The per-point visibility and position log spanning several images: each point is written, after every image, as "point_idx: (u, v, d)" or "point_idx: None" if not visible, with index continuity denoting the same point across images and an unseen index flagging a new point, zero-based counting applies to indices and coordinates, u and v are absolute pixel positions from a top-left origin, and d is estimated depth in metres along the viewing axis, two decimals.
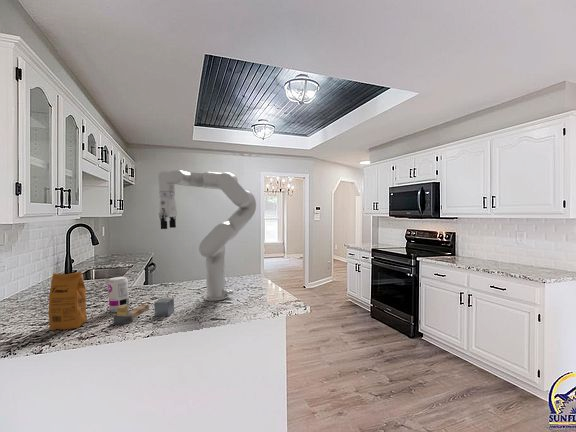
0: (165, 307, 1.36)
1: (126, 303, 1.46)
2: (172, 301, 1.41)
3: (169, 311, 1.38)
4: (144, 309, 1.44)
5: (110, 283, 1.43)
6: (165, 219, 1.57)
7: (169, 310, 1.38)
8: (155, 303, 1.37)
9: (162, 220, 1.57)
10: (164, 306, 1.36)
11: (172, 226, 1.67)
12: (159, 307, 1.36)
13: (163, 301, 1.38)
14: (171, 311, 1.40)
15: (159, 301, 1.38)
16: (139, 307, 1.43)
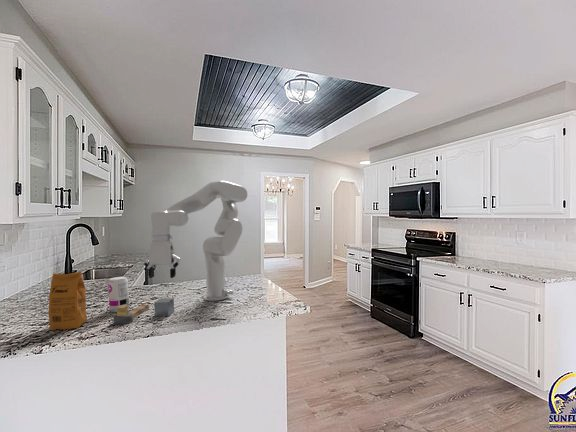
0: (165, 307, 1.36)
1: (126, 303, 1.46)
2: (172, 301, 1.41)
3: (169, 311, 1.38)
4: (144, 309, 1.44)
5: (110, 283, 1.43)
6: None
7: (169, 310, 1.38)
8: (155, 303, 1.37)
9: (175, 267, 1.38)
10: (164, 306, 1.36)
11: (152, 276, 1.39)
12: (159, 307, 1.36)
13: (163, 301, 1.38)
14: (171, 311, 1.40)
15: (159, 301, 1.38)
16: (139, 307, 1.43)
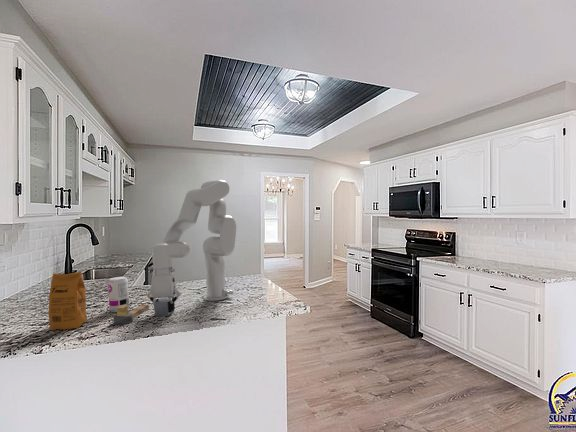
0: (165, 307, 1.36)
1: (126, 303, 1.46)
2: None
3: (169, 311, 1.38)
4: (144, 309, 1.44)
5: (110, 283, 1.43)
6: None
7: (169, 310, 1.38)
8: (155, 303, 1.37)
9: (174, 301, 1.39)
10: (164, 306, 1.36)
11: None
12: (159, 307, 1.36)
13: (163, 301, 1.38)
14: None
15: (159, 301, 1.38)
16: (139, 307, 1.43)
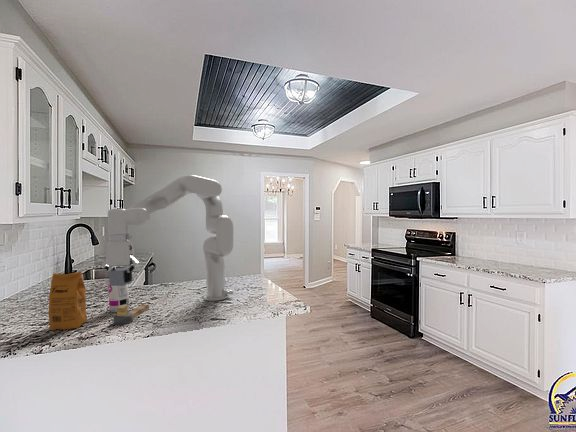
0: (121, 276, 1.27)
1: (126, 303, 1.46)
2: None
3: (125, 280, 1.28)
4: (144, 309, 1.44)
5: None
6: None
7: (125, 280, 1.28)
8: (110, 272, 1.27)
9: (131, 271, 1.30)
10: (119, 275, 1.27)
11: None
12: (114, 276, 1.27)
13: (119, 270, 1.28)
14: None
15: (115, 270, 1.28)
16: (139, 307, 1.43)
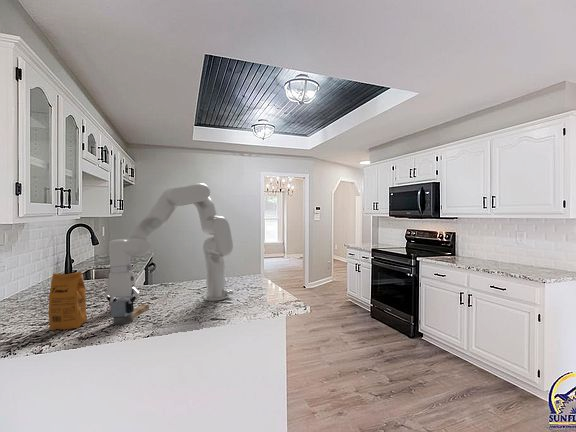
0: (122, 308, 1.27)
1: None
2: None
3: None
4: (144, 309, 1.44)
5: None
6: None
7: None
8: (111, 303, 1.28)
9: (133, 301, 1.30)
10: (121, 306, 1.27)
11: None
12: (116, 307, 1.27)
13: (120, 301, 1.29)
14: None
15: (116, 301, 1.29)
16: (139, 307, 1.43)
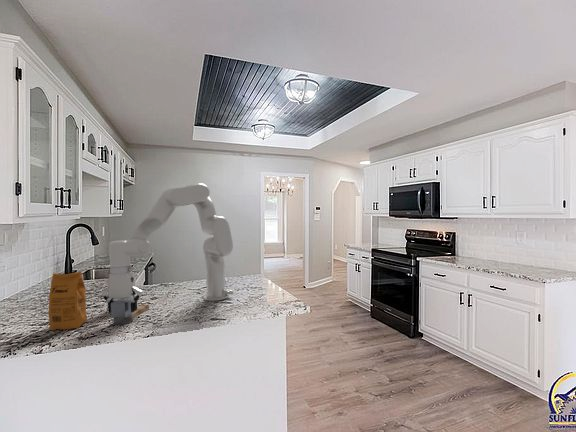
0: (122, 308, 1.27)
1: None
2: (131, 301, 1.32)
3: (127, 312, 1.29)
4: (144, 309, 1.44)
5: None
6: None
7: (127, 311, 1.29)
8: (111, 304, 1.28)
9: (136, 300, 1.30)
10: (121, 307, 1.27)
11: None
12: (116, 308, 1.27)
13: (120, 302, 1.29)
14: (130, 312, 1.31)
15: (116, 302, 1.29)
16: (139, 307, 1.43)
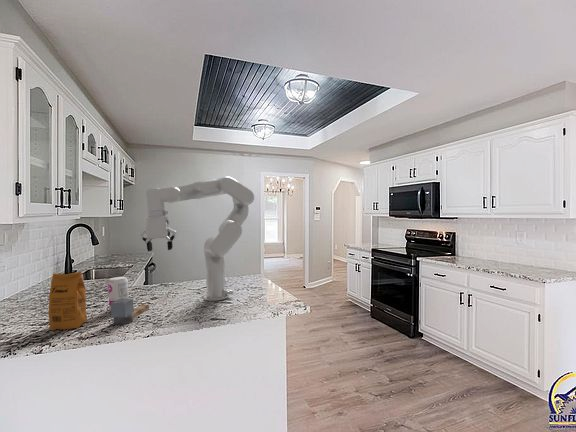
0: (122, 308, 1.27)
1: None
2: (131, 301, 1.32)
3: (127, 312, 1.29)
4: (144, 309, 1.44)
5: (110, 283, 1.43)
6: None
7: (127, 311, 1.29)
8: (111, 304, 1.28)
9: (172, 240, 1.48)
10: (121, 307, 1.27)
11: (150, 249, 1.49)
12: (116, 308, 1.27)
13: (120, 302, 1.29)
14: (130, 312, 1.31)
15: (116, 302, 1.29)
16: (139, 307, 1.43)
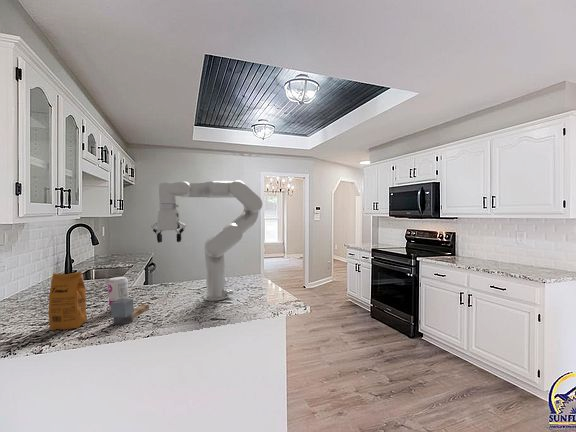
0: (122, 308, 1.27)
1: None
2: (131, 301, 1.32)
3: (127, 312, 1.29)
4: (144, 309, 1.44)
5: (110, 283, 1.43)
6: None
7: (127, 311, 1.29)
8: (111, 304, 1.28)
9: (181, 232, 1.54)
10: (121, 307, 1.27)
11: (160, 241, 1.55)
12: (116, 308, 1.27)
13: (120, 302, 1.29)
14: (130, 312, 1.31)
15: (116, 302, 1.29)
16: (139, 307, 1.43)
